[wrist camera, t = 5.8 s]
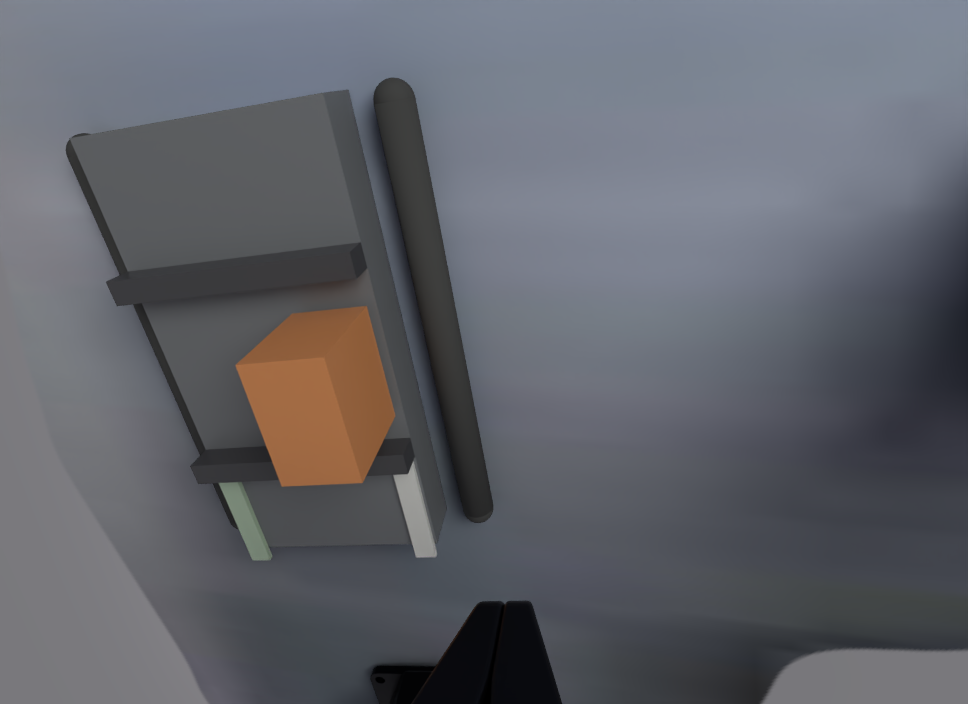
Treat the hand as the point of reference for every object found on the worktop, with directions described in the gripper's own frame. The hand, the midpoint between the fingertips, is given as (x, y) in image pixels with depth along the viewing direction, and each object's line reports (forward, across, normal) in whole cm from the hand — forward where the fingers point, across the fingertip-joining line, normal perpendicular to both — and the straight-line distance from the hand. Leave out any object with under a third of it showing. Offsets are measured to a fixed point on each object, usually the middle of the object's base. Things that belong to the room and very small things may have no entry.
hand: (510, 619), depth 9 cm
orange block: (+10, +6, 0) cm, 12 cm away
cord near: (+12, +3, 0) cm, 12 cm away
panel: (+12, +9, 0) cm, 15 cm away
